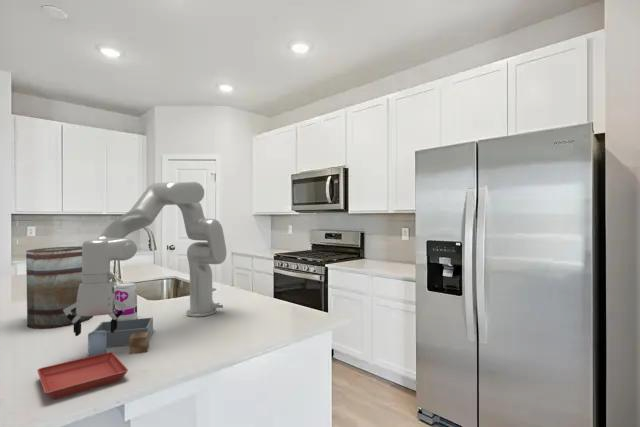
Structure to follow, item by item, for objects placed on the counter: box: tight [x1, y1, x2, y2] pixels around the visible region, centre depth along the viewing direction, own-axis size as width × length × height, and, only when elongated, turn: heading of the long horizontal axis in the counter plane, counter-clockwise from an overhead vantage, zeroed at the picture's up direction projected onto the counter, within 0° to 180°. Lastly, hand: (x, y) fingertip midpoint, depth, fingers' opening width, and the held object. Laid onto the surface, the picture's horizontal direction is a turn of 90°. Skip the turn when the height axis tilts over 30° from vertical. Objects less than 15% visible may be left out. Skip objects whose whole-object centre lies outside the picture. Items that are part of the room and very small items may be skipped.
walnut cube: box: [128, 332, 150, 355], centre depth 117 cm, size 5×5×5 cm
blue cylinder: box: [87, 330, 108, 357], centre depth 113 cm, size 5×5×7 cm
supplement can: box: [114, 282, 138, 321], centre depth 150 cm, size 8×8×15 cm
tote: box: [92, 317, 154, 348], centre depth 127 cm, size 17×13×5 cm
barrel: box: [25, 245, 94, 330], centre depth 150 cm, size 22×22×30 cm
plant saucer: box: [36, 351, 129, 400], centre depth 96 cm, size 18×18×3 cm
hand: (95, 333), depth 113 cm, fingers open, 9 cm apart
